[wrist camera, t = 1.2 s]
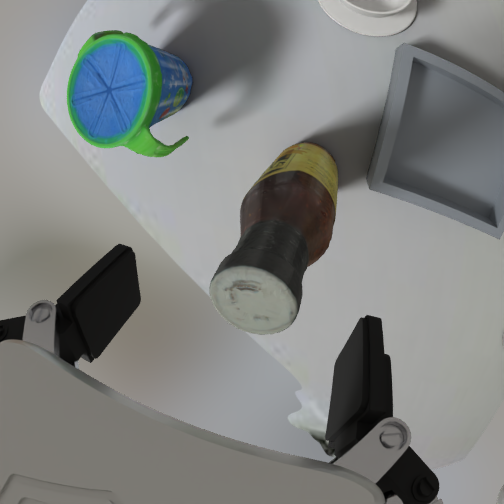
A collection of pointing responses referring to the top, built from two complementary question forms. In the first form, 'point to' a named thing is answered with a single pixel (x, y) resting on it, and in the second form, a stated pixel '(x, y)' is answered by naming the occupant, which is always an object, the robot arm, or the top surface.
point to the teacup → (372, 15)
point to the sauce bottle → (278, 241)
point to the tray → (442, 141)
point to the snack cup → (125, 92)
